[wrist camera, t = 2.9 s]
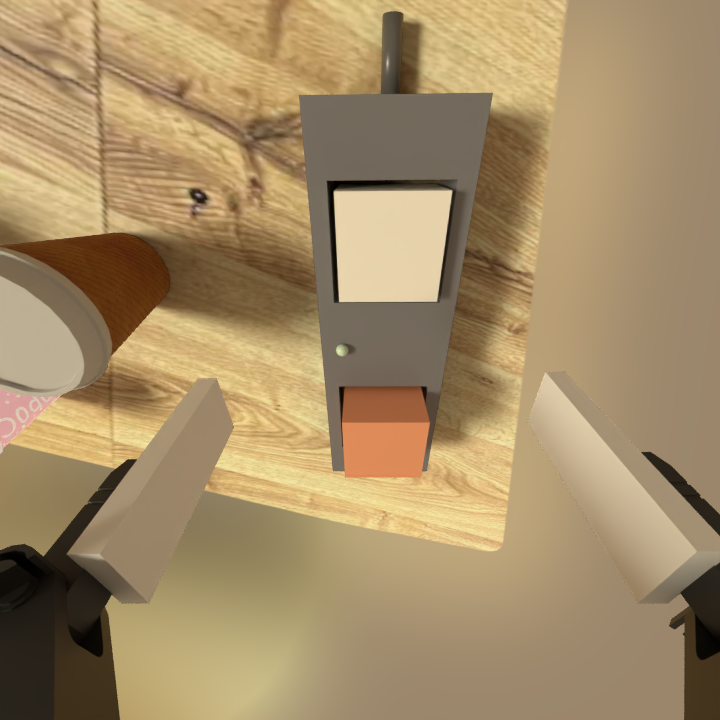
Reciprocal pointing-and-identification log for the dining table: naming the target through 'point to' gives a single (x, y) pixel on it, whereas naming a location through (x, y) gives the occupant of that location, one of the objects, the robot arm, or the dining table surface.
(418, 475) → the button orange
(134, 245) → the disposable coffee cup
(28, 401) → the beverage cup
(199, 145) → the dining table surface
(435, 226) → the button ivory
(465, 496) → the dining table surface
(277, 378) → the dining table surface
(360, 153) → the push button control box
